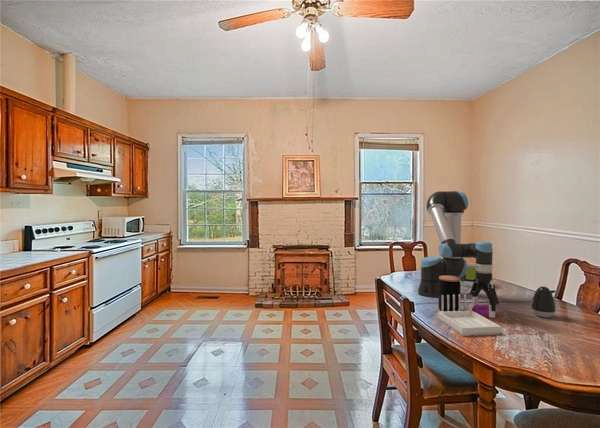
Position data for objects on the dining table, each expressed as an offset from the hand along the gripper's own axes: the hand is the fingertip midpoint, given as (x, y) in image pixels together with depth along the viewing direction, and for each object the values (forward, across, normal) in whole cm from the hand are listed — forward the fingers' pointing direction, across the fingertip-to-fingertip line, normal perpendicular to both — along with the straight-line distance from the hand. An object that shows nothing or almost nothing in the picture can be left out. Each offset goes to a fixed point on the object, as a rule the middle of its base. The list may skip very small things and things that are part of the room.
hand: (483, 312), depth 176 cm
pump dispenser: (+1, +5, +29) cm, 29 cm away
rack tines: (+1, +2, -17) cm, 17 cm away
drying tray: (+1, +14, -17) cm, 22 cm away
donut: (+2, 0, 0) cm, 2 cm away
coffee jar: (+1, -8, -14) cm, 16 cm away
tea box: (0, -58, +29) cm, 65 cm away
